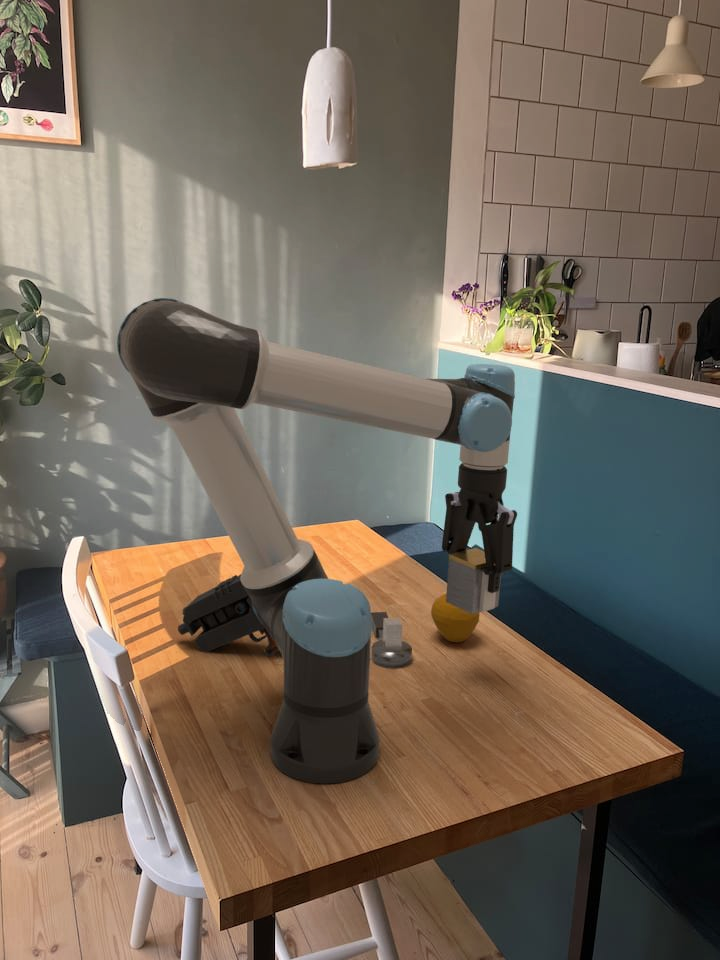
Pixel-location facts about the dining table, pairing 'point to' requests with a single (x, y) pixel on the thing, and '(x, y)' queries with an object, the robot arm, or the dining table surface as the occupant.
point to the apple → (453, 620)
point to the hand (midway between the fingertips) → (472, 602)
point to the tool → (224, 617)
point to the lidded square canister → (466, 580)
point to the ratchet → (389, 642)
